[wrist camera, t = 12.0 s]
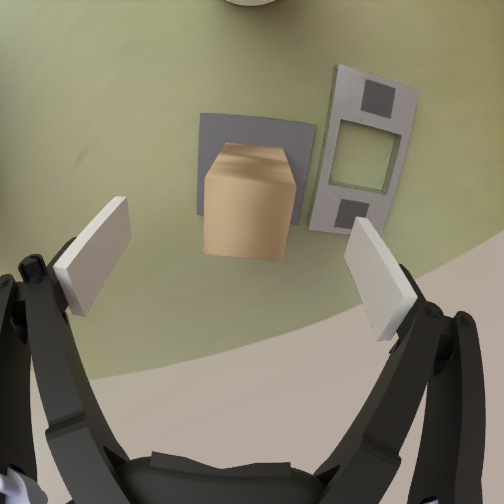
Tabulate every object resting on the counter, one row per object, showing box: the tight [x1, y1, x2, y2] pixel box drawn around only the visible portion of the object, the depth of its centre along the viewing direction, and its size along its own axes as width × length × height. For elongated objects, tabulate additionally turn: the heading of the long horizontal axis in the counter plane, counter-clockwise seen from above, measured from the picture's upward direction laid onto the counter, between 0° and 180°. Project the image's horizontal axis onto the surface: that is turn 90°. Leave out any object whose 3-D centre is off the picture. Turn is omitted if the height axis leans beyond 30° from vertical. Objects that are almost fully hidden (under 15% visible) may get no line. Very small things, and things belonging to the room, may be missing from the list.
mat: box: [197, 113, 316, 225], centre depth 24 cm, size 10×10×1 cm
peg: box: [204, 142, 297, 261], centre depth 20 cm, size 5×5×10 cm
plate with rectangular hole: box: [307, 64, 419, 237], centre depth 23 cm, size 8×16×1 cm, turn 174°
